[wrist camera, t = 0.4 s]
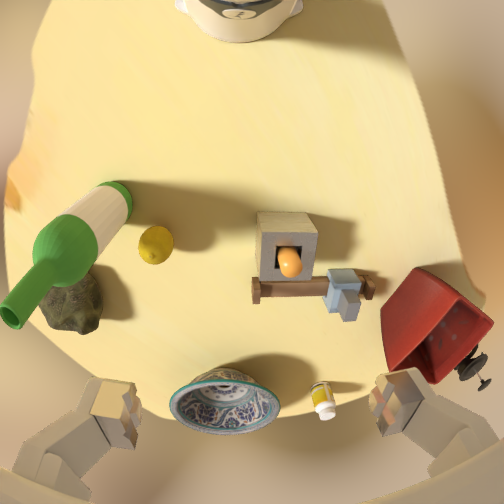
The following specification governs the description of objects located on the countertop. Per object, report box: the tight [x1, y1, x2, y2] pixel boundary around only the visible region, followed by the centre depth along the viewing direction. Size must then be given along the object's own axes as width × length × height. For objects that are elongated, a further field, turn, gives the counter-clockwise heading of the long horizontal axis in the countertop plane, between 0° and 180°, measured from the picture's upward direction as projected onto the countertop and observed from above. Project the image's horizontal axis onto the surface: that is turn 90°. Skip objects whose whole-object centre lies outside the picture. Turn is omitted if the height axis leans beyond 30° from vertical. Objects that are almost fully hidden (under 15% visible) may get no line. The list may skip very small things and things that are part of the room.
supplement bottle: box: [311, 382, 336, 420], centre depth 67 cm, size 5×5×10 cm
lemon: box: [138, 226, 174, 264], centre depth 45 cm, size 6×6×8 cm
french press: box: [454, 344, 491, 391], centre depth 55 cm, size 12×9×23 cm
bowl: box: [169, 368, 280, 435], centre depth 63 cm, size 25×25×10 cm
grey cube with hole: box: [255, 212, 318, 281], centre depth 46 cm, size 8×8×8 cm
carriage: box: [323, 269, 362, 322], centre depth 51 cm, size 6×5×9 cm
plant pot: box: [380, 268, 494, 385], centre depth 52 cm, size 19×19×17 cm
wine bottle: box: [0, 182, 133, 329], centre depth 32 cm, size 8×8×30 cm
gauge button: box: [276, 246, 303, 278], centre depth 42 cm, size 3×3×5 cm
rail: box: [252, 275, 376, 304], centre depth 53 cm, size 3×23×4 cm, turn 88°
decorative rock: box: [38, 273, 103, 335], centre depth 48 cm, size 15×16×10 cm
